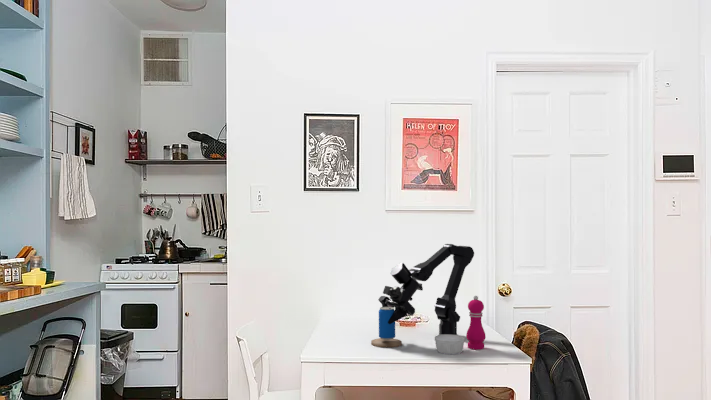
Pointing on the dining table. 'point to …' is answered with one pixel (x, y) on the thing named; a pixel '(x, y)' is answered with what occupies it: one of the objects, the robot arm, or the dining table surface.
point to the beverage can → (386, 323)
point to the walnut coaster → (386, 343)
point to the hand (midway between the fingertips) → (384, 322)
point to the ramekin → (449, 343)
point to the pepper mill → (475, 325)
